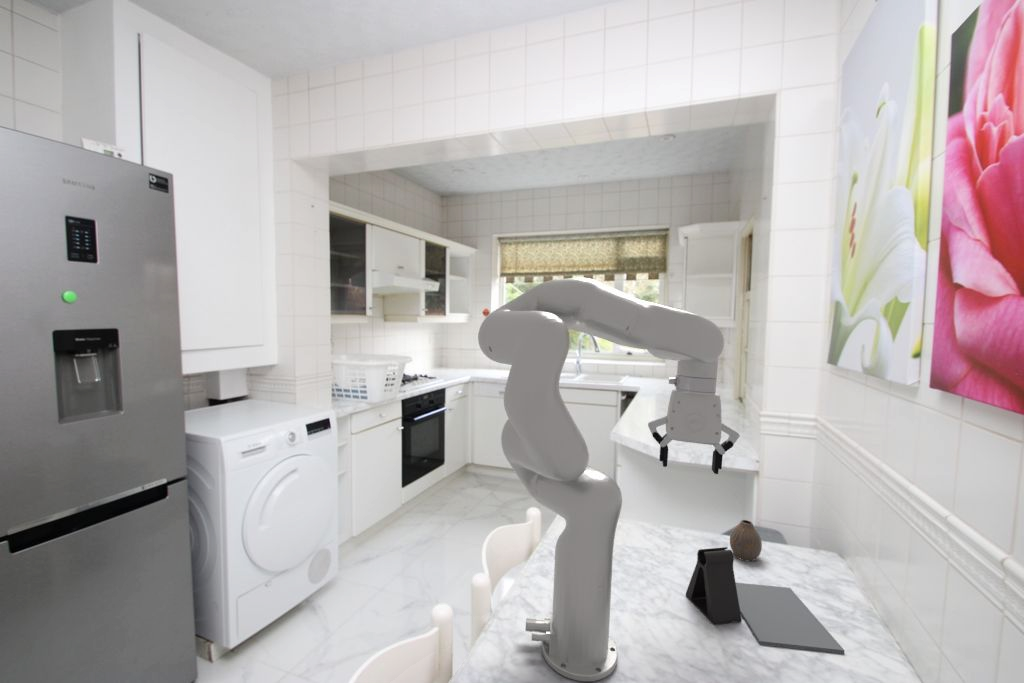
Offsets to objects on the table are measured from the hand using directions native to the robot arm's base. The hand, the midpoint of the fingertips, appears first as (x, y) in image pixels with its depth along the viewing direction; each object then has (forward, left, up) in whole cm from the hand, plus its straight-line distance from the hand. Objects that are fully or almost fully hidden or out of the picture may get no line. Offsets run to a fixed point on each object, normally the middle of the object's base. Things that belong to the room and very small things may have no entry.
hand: (689, 468), depth 89 cm
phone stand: (+5, -3, -27) cm, 28 cm away
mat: (+17, -3, -27) cm, 32 cm away
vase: (+20, +19, -27) cm, 39 cm away
